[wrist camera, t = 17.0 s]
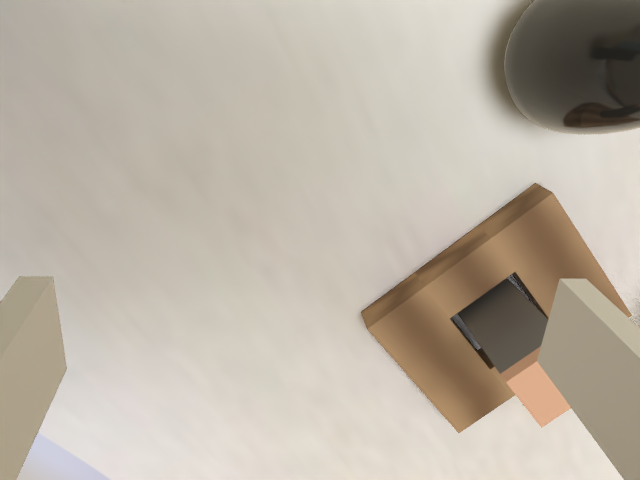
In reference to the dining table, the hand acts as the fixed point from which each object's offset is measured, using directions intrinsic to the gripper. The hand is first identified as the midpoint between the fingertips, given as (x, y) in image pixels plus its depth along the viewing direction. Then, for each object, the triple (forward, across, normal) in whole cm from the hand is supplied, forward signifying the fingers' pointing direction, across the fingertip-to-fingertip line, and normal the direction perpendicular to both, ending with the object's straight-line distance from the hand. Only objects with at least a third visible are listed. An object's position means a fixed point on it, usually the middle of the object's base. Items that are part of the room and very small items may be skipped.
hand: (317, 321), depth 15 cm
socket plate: (+28, +20, -17) cm, 39 cm away
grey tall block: (+28, +20, -17) cm, 39 cm away
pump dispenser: (+30, +21, +4) cm, 37 cm away
